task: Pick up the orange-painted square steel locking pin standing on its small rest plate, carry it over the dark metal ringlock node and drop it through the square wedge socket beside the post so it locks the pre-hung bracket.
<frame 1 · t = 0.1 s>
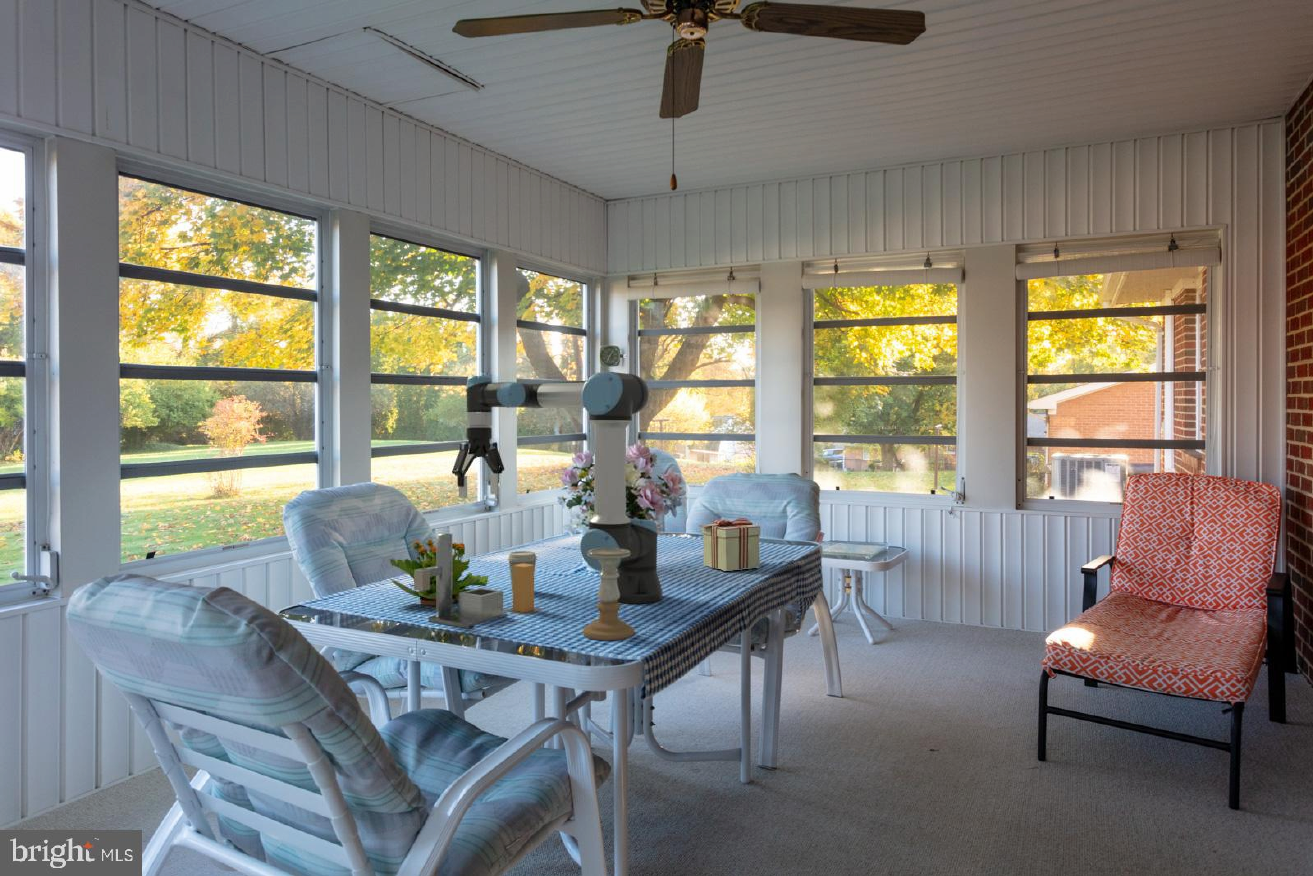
hand: (478, 496, 254), 28 cm above the table, fingers open, 13 cm apart
gift box: (727, 568, 292), on the table
candle holder: (608, 634, 201), on the table
potted flower: (435, 603, 233), on the table
rest plate: (523, 612, 223), on the table
wedge pin: (523, 609, 223), point 1 cm above the table, touching rest plate
coffee cup: (522, 594, 246), on the table
ringlock node: (468, 619, 214), on the table
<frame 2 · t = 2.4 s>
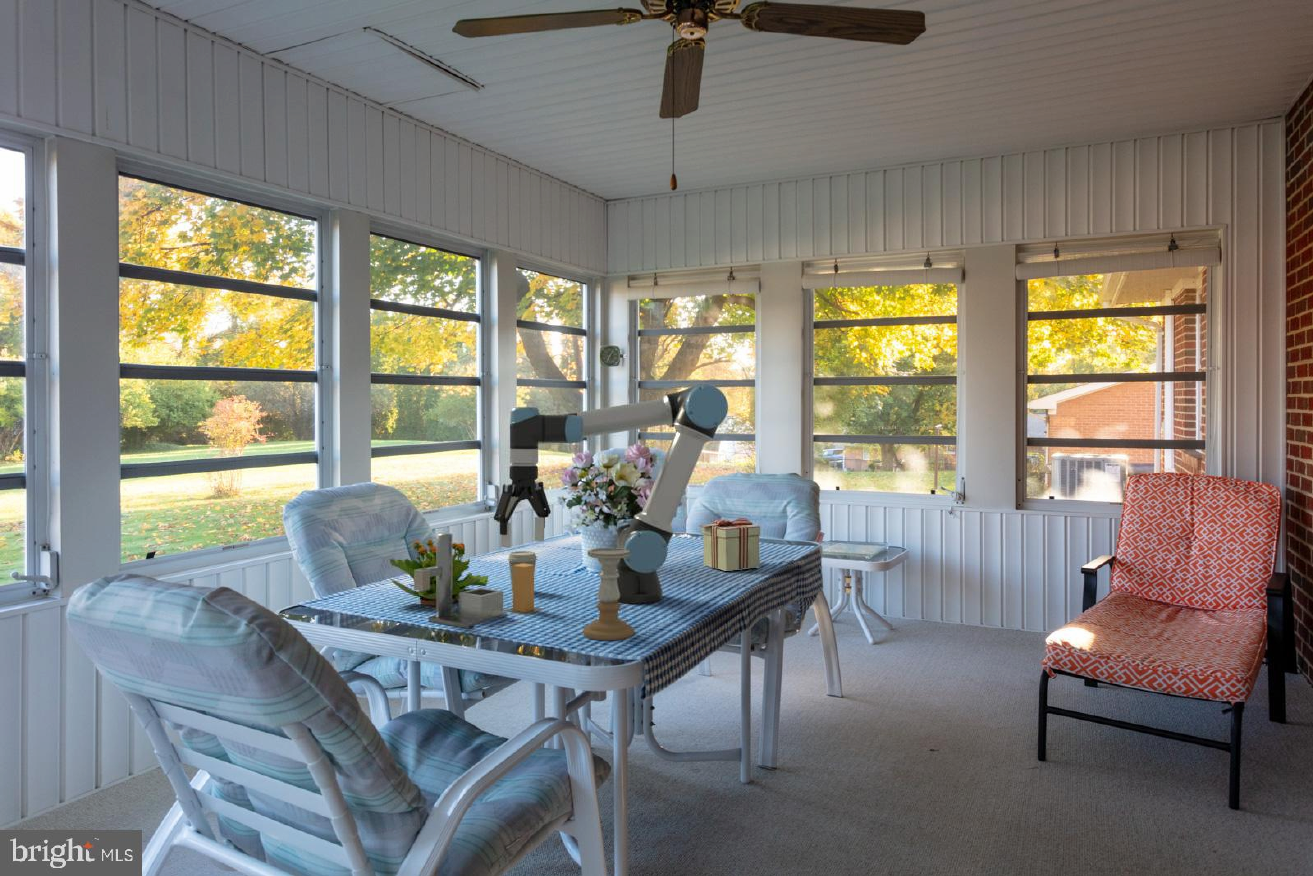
hand: (522, 544, 222), 18 cm above the table, fingers open, 13 cm apart
nothing on the table moved.
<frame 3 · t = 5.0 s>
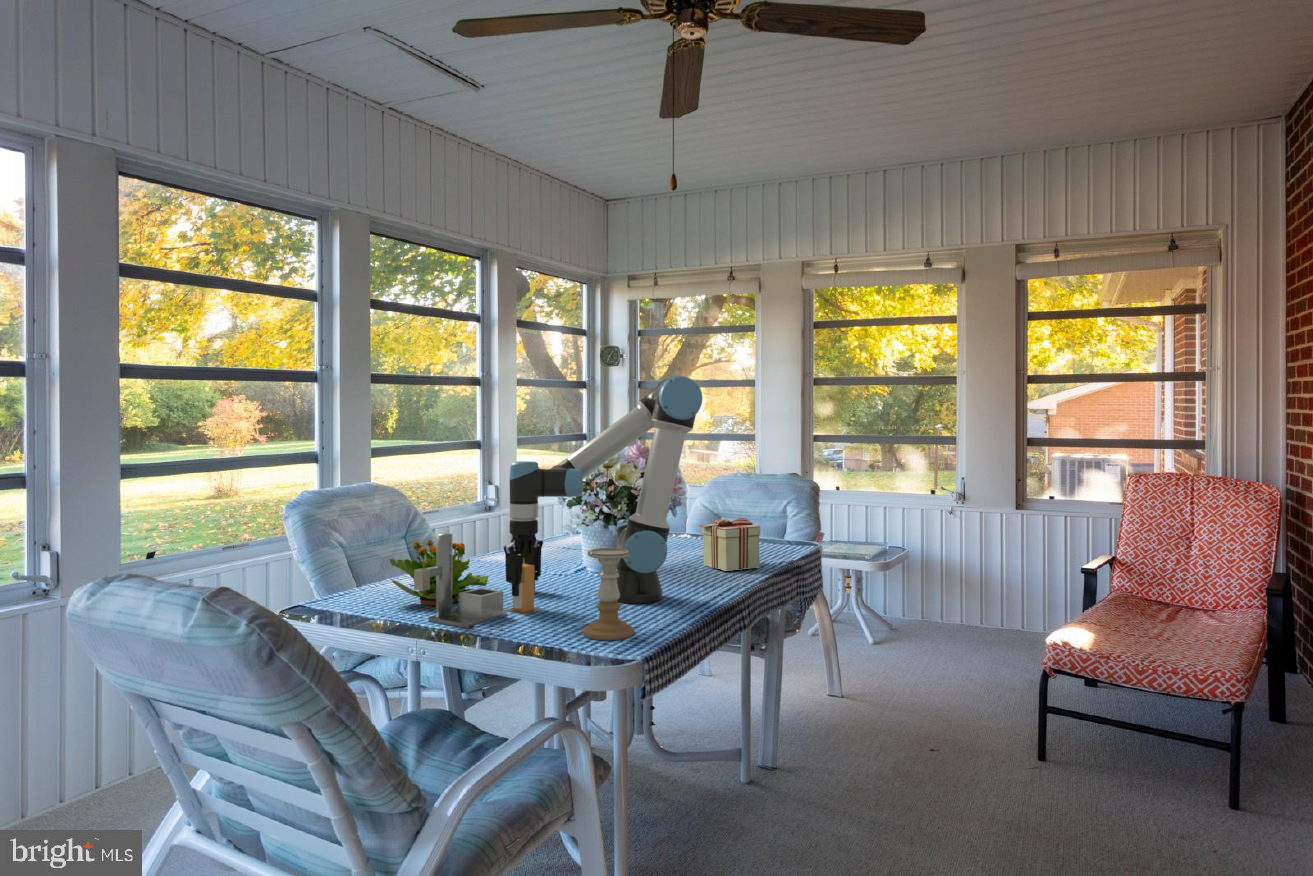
hand: (523, 605, 223), 2 cm above the table, fingers closed on wedge pin, 4 cm apart
wedge pin: (523, 609, 223), point 1 cm above the table, touching gripper, rest plate
everything else where it was.
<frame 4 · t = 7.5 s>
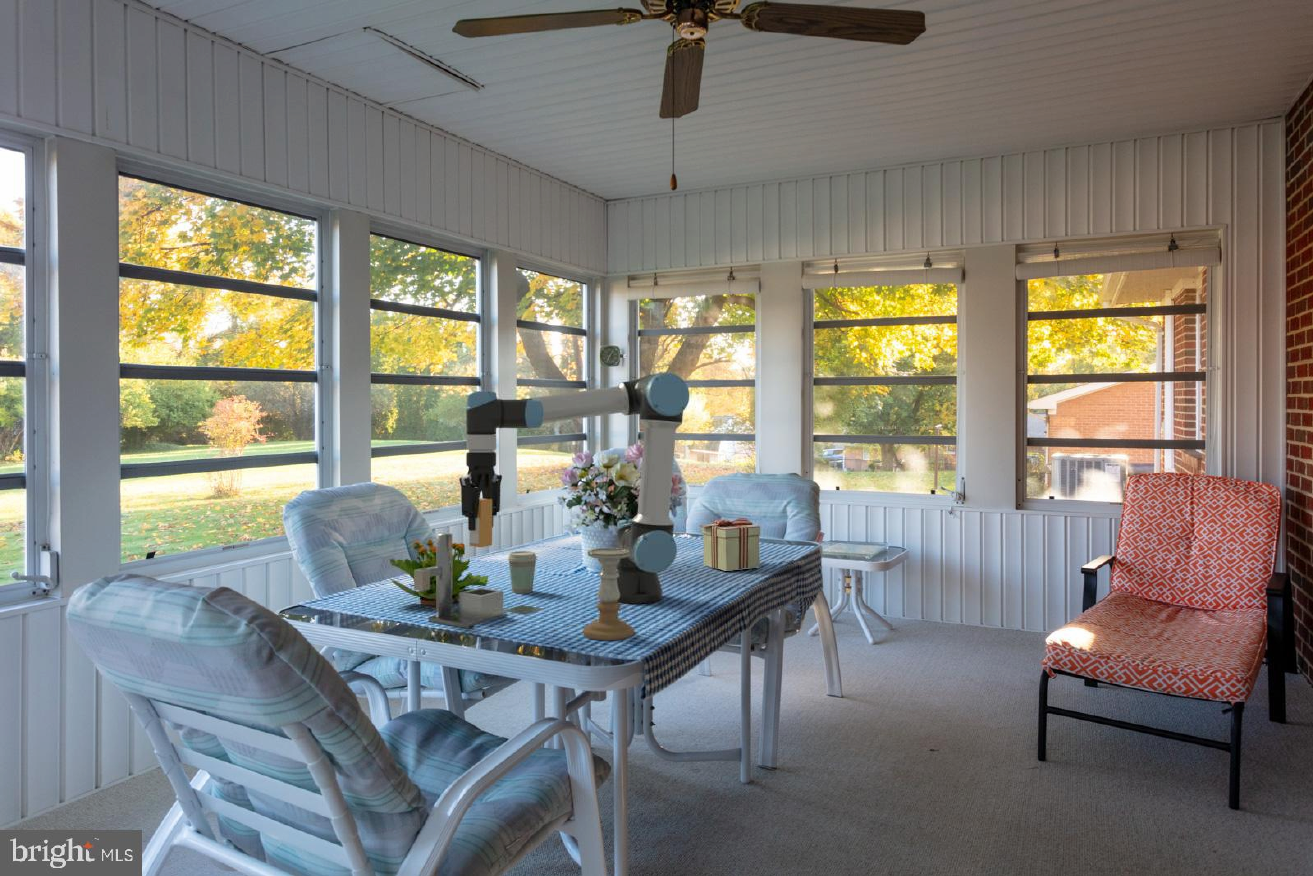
hand: (480, 541, 214), 20 cm above the table, fingers closed on wedge pin, 4 cm apart
wedge pin: (480, 545, 214), point 19 cm above the table, touching gripper
everything else where it was.
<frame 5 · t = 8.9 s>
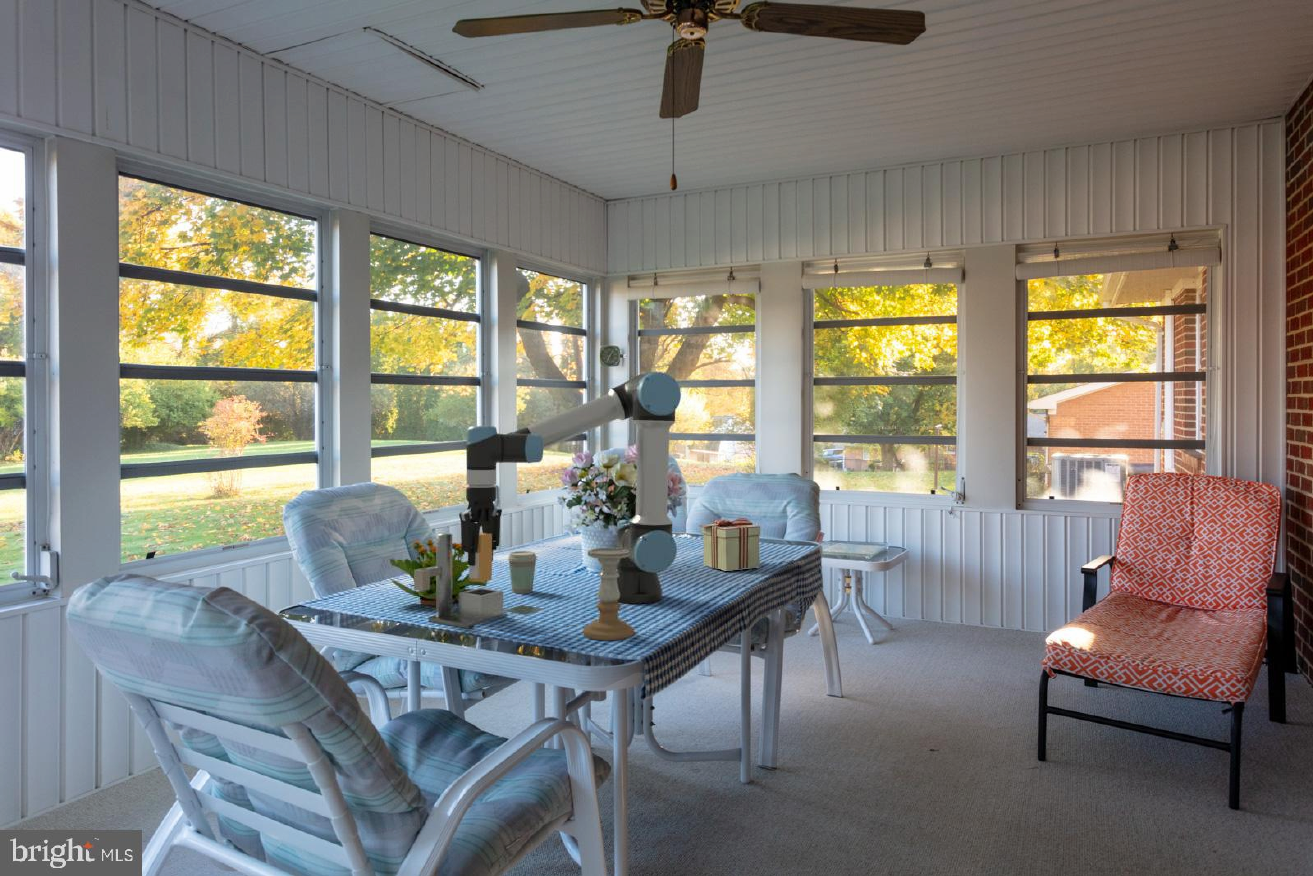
hand: (480, 576, 214), 11 cm above the table, fingers closed on wedge pin, 4 cm apart
wedge pin: (480, 580, 214), point 10 cm above the table, touching gripper
everything else where it was.
when the fingers open (9 cm above the table, at t = 10.1 s): wedge pin drops 7 cm, resting on ringlock node.
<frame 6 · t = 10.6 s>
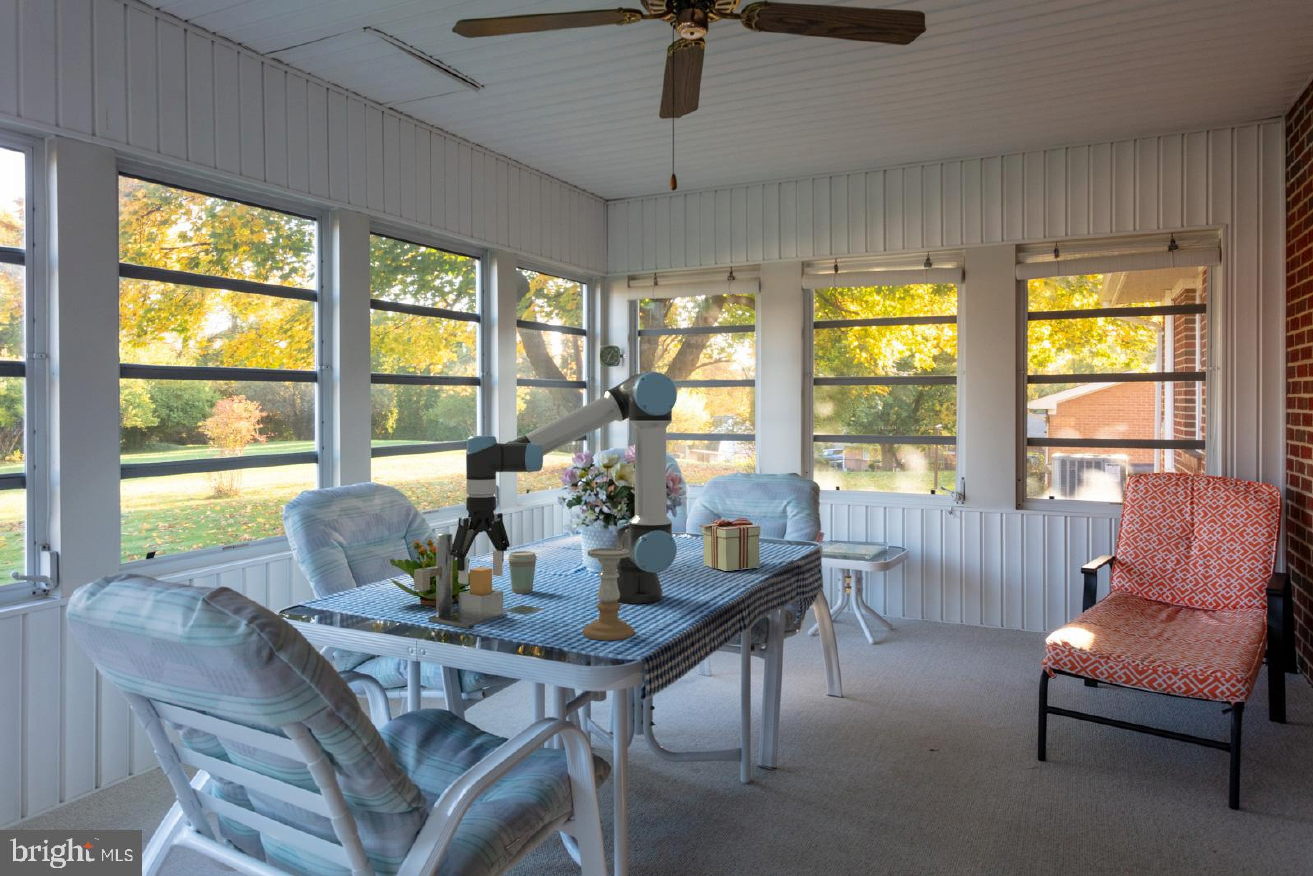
hand: (480, 579, 214), 10 cm above the table, fingers open, 12 cm apart
wedge pin: (480, 615, 215), point 1 cm above the table, touching ringlock node
everything else where it was.
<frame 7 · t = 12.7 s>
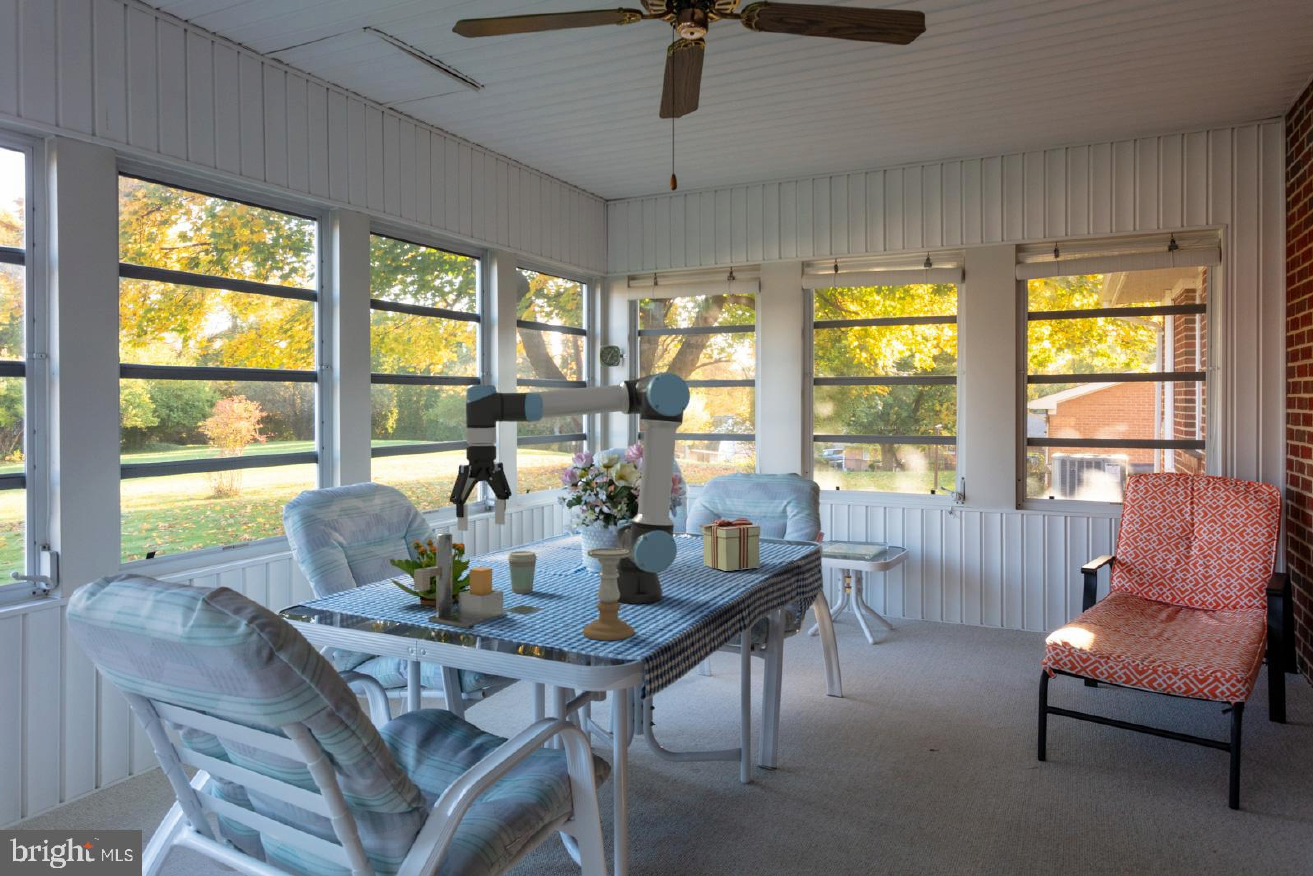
hand: (481, 527, 214), 24 cm above the table, fingers open, 13 cm apart
nothing on the table moved.
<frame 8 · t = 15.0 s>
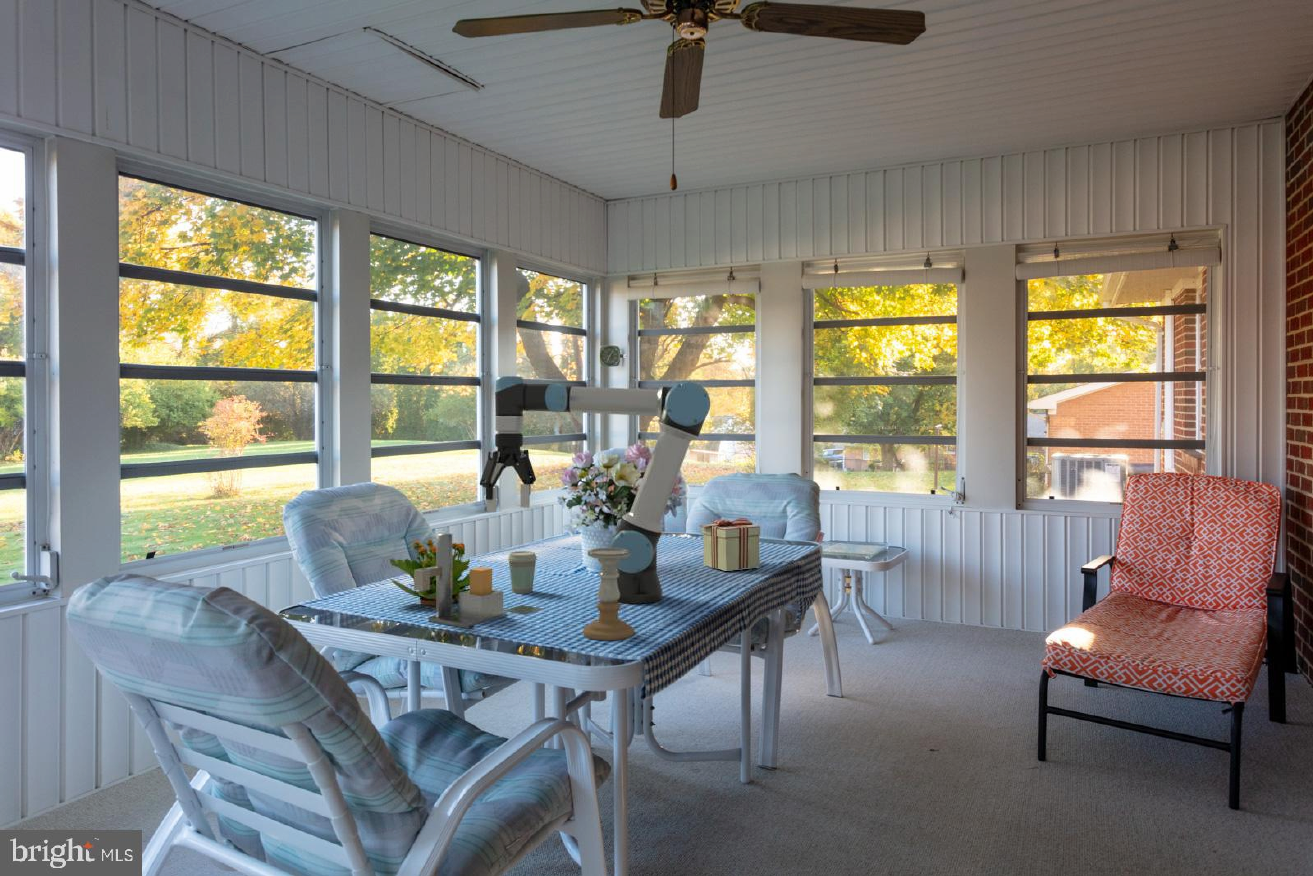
hand: (508, 509, 229), 27 cm above the table, fingers open, 13 cm apart
nothing on the table moved.
at the end: wedge pin 0.0 cm from the target spot on the ringlock node, point 1.0 cm above the ringlock node's base; wedge pin tilted 0°; the gripper is holding nothing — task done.
